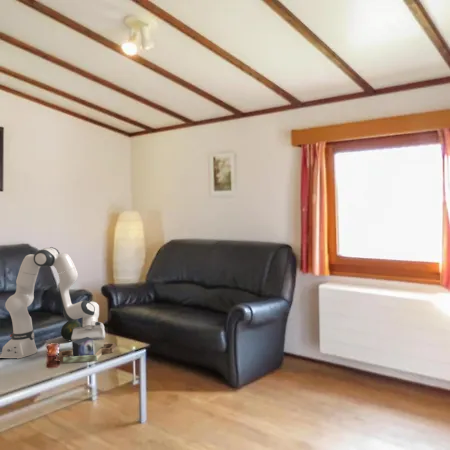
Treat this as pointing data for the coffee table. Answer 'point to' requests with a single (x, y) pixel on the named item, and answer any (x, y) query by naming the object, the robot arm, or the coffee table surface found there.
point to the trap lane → (107, 349)
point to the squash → (69, 329)
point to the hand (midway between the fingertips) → (86, 346)
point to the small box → (83, 347)
